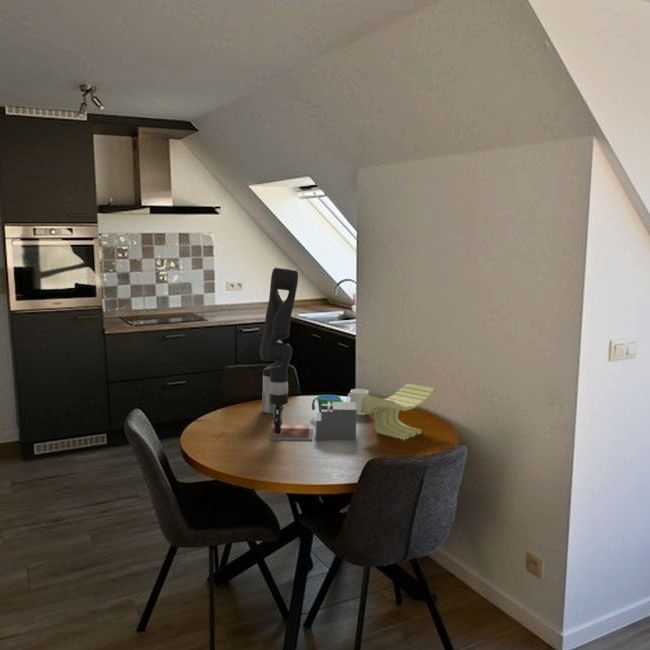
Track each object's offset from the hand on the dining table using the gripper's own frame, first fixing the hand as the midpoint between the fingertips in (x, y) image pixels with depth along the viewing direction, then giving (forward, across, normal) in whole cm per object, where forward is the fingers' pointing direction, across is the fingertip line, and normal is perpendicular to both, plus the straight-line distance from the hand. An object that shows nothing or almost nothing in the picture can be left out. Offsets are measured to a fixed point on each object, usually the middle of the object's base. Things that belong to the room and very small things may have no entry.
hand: (278, 430), depth 262 cm
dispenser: (+2, 0, +24) cm, 24 cm away
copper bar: (+1, 0, +5) cm, 5 cm away
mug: (+2, -36, +34) cm, 49 cm away
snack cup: (+2, -24, +20) cm, 32 cm away
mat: (+2, 0, +6) cm, 6 cm away
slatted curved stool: (+2, -6, +50) cm, 50 cm away
